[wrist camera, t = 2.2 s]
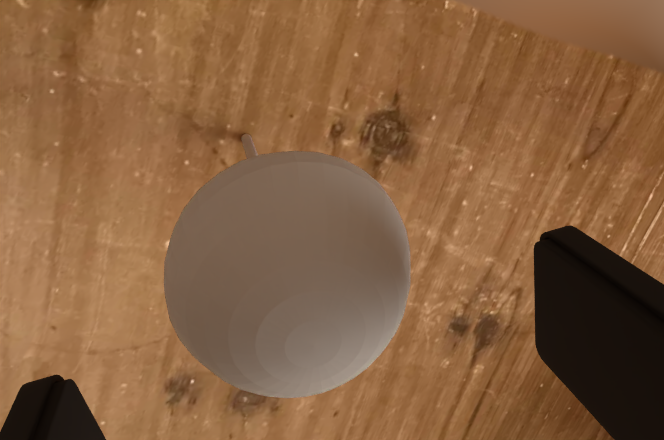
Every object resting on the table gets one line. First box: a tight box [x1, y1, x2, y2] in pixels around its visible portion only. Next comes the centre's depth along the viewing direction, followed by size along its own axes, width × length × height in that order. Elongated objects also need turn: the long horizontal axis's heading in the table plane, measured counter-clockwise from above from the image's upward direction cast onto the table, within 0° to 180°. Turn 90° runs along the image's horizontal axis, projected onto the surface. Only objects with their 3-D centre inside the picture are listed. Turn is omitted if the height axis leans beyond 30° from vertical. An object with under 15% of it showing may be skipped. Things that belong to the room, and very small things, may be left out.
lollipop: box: [164, 134, 410, 398], centre depth 17 cm, size 6×6×15 cm
